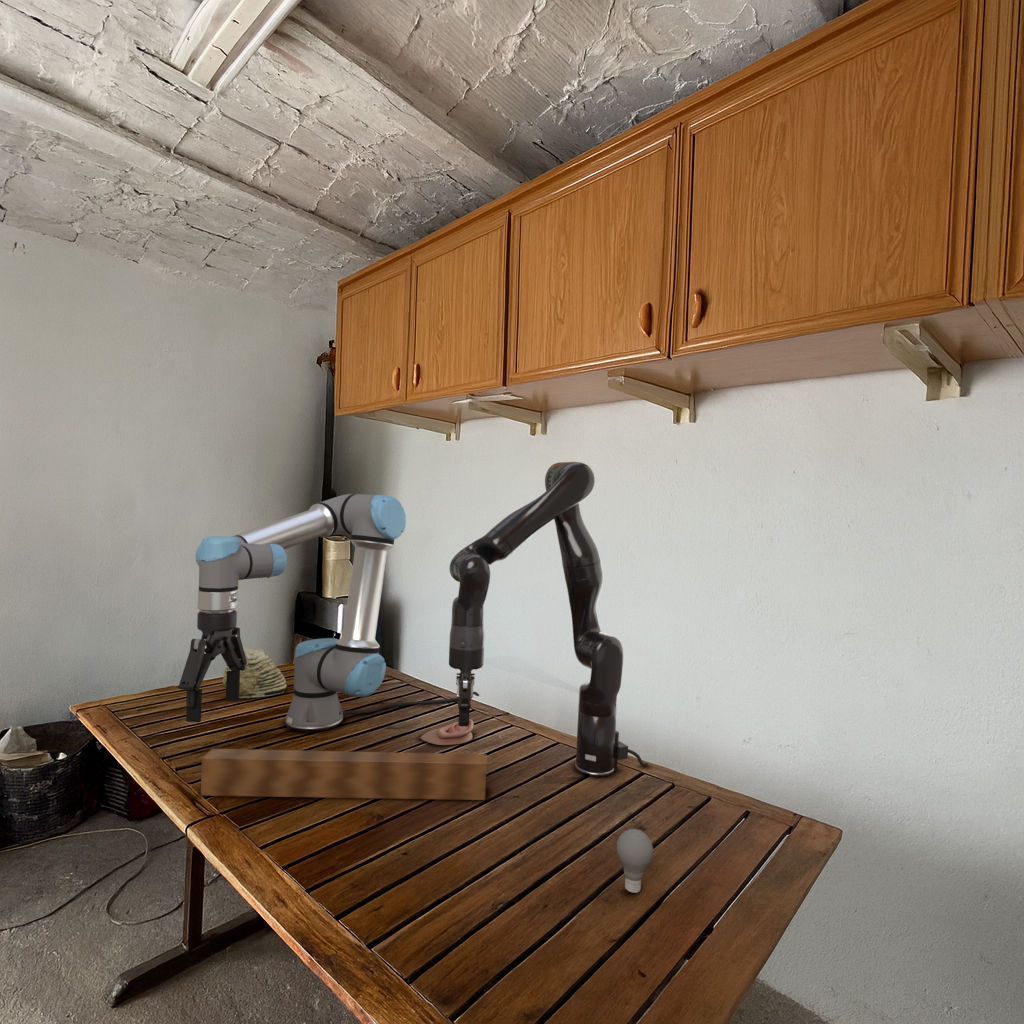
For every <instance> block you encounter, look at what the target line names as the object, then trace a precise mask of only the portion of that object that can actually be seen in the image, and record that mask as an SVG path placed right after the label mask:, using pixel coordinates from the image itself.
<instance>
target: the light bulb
mask: <svg viewBox="0 0 1024 1024" xmlns="http://www.w3.org/2000/svg"><path fill="white" fill-rule="evenodd" d="M615 849H616V854H617V857H618V859H619V861H620V863H621V865H622V867H623V873H624V874H623V875H624V876H625V878H624V888H625V890H627V891H628V892H630V893H634V894H635V893H639V892H640V891H641V889H642V887H641V886H642V879H643V877H644V875H645V871H646V868H647V867H648V866H649V864H650V863H651V861H652V859H653V855H654V847H653V843H652V841H651V838H649V836H648V835H647V834H646V833H645V832H643V831H642V830H641V829H636V828H629V829H627V830H625V831H623V832H622V833H621V834H620V835H619V837H618V839H617V841H616V847H615Z"/></svg>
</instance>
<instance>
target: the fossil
mask: <svg viewBox="0 0 1024 1024" xmlns="http://www.w3.org/2000/svg"><path fill="white" fill-rule="evenodd" d="M243 649H244V653H245V656H246V660H247V664H246V665H245V667H246V668H245V670H244V671H241V670H240V686H239V699H250V698H264V697H271V696H275V695H281V694H284V693H285V691H286V689H287V687H288V686H287V680H286V678H285V676H284V674H283V673H282V672H281V669H279V668H278V667H277V665H276V663H275V662H274V660H273V659H272V658H271V657H270V656H269V655H268V654H267V653H266V652H265V650H264V649H263V648H260V647H258V648H251V647H247V646H246V647H245V646H243ZM239 660H241V659H239ZM243 666H244V665H243ZM227 671H231V670H230V669H229V667H228V666H227V664H226V666H225V668H224V671H223V675H222V676H223V677H222V685H223V687H224V688H225V689H226V678H227Z"/></svg>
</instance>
